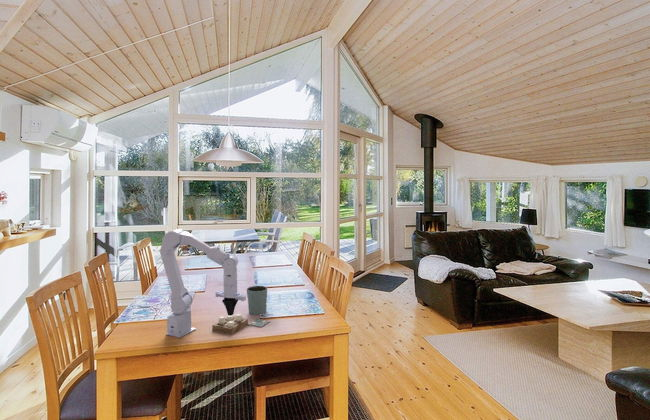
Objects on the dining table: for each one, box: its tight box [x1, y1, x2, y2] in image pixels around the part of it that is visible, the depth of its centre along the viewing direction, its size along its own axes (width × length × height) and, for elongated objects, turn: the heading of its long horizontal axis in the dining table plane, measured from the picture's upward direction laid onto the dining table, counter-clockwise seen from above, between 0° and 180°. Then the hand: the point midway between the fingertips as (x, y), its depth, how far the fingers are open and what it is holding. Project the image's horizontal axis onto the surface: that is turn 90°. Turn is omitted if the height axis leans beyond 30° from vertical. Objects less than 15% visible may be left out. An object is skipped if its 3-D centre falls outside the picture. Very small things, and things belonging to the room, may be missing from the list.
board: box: [211, 315, 249, 335], centre depth 159 cm, size 12×10×2 cm
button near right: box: [228, 321, 234, 327], centre depth 155 cm, size 3×3×3 cm
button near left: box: [218, 316, 226, 325], centre depth 157 cm, size 3×3×3 cm
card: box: [247, 318, 271, 328], centre depth 164 cm, size 7×7×1 cm
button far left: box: [226, 314, 234, 321], centre depth 162 cm, size 3×3×3 cm
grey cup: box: [246, 285, 268, 316], centre depth 178 cm, size 10×10×12 cm
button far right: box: [235, 313, 243, 323], centre depth 160 cm, size 3×3×3 cm
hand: (230, 314), depth 155 cm, fingers closed
